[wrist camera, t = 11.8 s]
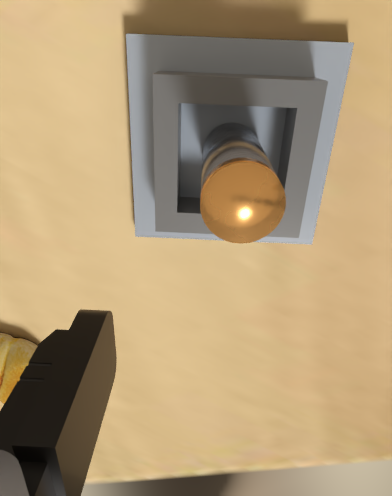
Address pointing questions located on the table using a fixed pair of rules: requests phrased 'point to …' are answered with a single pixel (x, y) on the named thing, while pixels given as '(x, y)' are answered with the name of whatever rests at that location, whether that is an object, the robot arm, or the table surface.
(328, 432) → the table surface
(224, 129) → the cylinder
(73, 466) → the robot arm
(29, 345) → the bread roll
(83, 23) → the table surface
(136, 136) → the socket
